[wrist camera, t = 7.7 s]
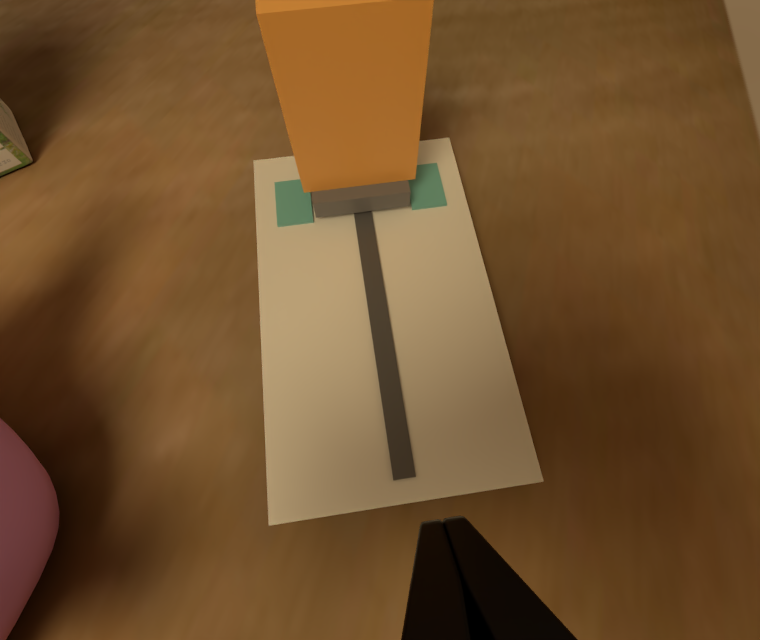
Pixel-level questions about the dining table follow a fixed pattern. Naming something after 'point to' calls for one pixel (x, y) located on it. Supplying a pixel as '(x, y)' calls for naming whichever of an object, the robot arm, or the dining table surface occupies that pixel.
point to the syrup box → (11, 143)
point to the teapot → (22, 525)
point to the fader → (350, 95)
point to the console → (381, 350)
